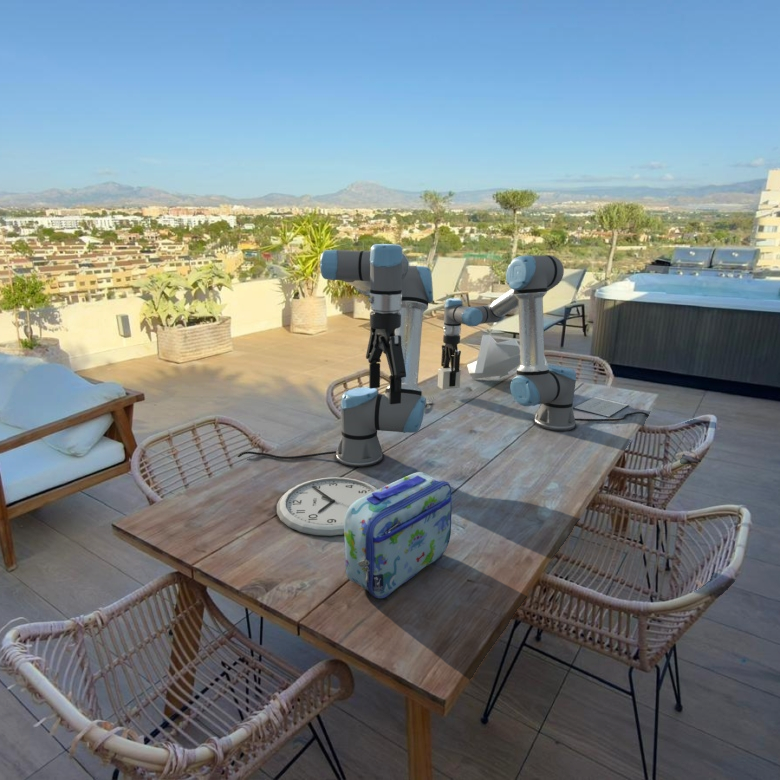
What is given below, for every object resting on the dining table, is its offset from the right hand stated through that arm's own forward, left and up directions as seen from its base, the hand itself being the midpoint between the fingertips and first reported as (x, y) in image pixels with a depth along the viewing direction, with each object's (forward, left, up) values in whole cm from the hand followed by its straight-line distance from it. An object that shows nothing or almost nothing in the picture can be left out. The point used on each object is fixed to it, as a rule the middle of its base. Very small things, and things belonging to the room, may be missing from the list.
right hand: (449, 384), depth 239 cm
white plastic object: (-28, -18, -5) cm, 33 cm away
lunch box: (+9, +132, -5) cm, 132 cm away
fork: (+9, +19, -5) cm, 22 cm away
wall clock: (+30, +106, -5) cm, 110 cm away
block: (0, 0, -1) cm, 1 cm away
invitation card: (-66, +7, -5) cm, 66 cm away
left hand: (+16, +106, +28) cm, 111 cm away
